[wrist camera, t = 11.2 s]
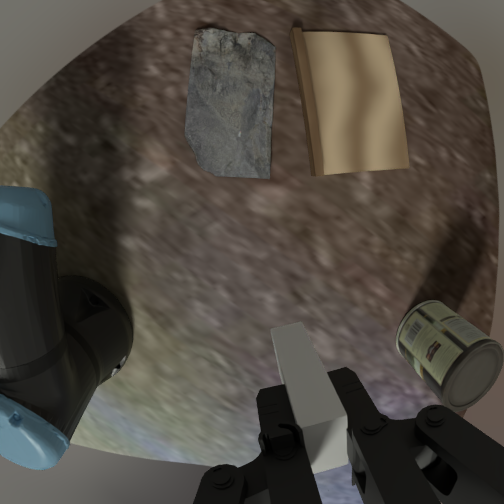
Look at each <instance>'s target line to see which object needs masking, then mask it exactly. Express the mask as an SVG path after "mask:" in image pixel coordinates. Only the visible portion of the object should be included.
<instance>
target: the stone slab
mask: <svg viewBox="0 0 504 504" xmlns="http://www.w3.org/2000/svg"><path fill="white" fill-rule="evenodd" d="M275 50H276V47H274V46H273V45H272V44H271V43H269V42H268V41H266V40H265V39H263V38H262V37H260V36H258V35H257V34H255V33H234V32H227V31H224V30H218V29H216V28H207V29H200V30H195V35H194V44H193V51H192V59H191V68H190V77H189V86H188V97H187V108H186V121H185V138H186V140H187V142H188V143H189V145H190V147H191V148H192V150H193V152H194V153H195V156H196V160H197V162H198V165H199V166H200V167H201V168H202V169H203V170H204V171H205V170H206V171H208V172H211V173H213V174H214V175H215V176H228V177H248V178H264V179H270V160H271V126H272V117H273V94H274V78H275Z"/></svg>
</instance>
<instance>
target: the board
mask: <svg viewBox="0 0 504 504" xmlns="http://www.w3.org/2000/svg"><path fill="white" fill-rule="evenodd" d="M290 39H291V44H292V50H293V55H294V61H295V66H296V72H297V78H298V84H299V90H300V96H301V103H302V109H303V116H304V123H305V130H306V137H307V144H308V152H309V160H310V168H311V176H324V175H328V174H338V173H349V172H361V171H373V170H387V169H402V168H409V159H408V150H407V141H406V133H405V125H404V118H403V112H402V105H401V99H400V93H399V88H398V82H397V77H396V72H395V67H394V63H393V58H392V54H391V49H390V45H389V41H388V37H387V36H384V35H374V34H362V33H345V32H302V30H301V28H292V30H291V32H290Z"/></svg>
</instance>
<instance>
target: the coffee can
mask: <svg viewBox="0 0 504 504" xmlns="http://www.w3.org/2000/svg"><path fill="white" fill-rule="evenodd" d="M396 346H397V349H398V351H399V353H400V354H401V355H402V356H403V357H404V358H405V359H406V360H407V361H408V363H409V364H410V365H411V366H412V367H413V368H414V370H415V371H416V372H417V373H418V374H419V375H420V377H421V378H422V379H423V380H424V381H425V382H426V384H427V385H428V386H429V387H430V388H431V390H432V391H433V392H434V393H435V394H436V396H437V397H438V398H439V399H440V400H441V402H442V404H443V406H445V407H447V408H449V409H451V410H452V411H453V412H458V411H462V410H465V409H467V408H469V407H471V406H472V405H474V404H475V403H477V402H478V401H479V400H480V399H481V398H482V397H483V396H484V395H485V394H486V393H487V392H488V391H489V390H490V388H491V387H492V386H493V384H494V383H495V381H496V379H497V378H498V375H499V373H500V371H501V369H502V366H503V361H504V351H503V348H502V346H501V345H500V344H499V343H498V342H496V341H495V340H492V339H491V338H490V337H488V336H487V335H486V334H484V333H483V332H481V331H480V330H479V329H477V328H476V327H475V326H473V325H472V324H470V323H469V322H468V321H466V320H465V319H463V318H462V317H461V316H459V315H458V314H457V313H455V312H454V311H452V310H451V309H450V308H448V307H447V306H445V304H443V303H442V302H440V301H437V300H428V301H425V302H422V303H420V304H418V305H417V306H415V307H414V308H412V309H411V310H410V311H409V312H408V313H407V315H406V316H405V317H404V319H403V320H402V322H401V324H400V326H399V328H398V331H397V335H396Z"/></svg>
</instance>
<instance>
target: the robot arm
mask: <svg viewBox="0 0 504 504" xmlns="http://www.w3.org/2000/svg"><path fill="white" fill-rule="evenodd" d="M56 247H57V240H56V239H55V237H54V229H53V216H52V205H51V202H50V200H49V198H48V196H47V195H46V194H45V193H44V192H43V191H41V190H39V189H36V188H29V187H16V186H0V455H2V456H3V457H5V458H7V459H8V460H10V461H12V462H14V463H16V464H19V465H21V466H24V467H27V468H30V469H36V470H45V469H48V468H50V467H54V466H55V465H56V464H57V463H58V461H59V460H60V458H61V457H62V455H63V454H64V452H65V451H66V449H68V448H69V445H70V444H69V443H70V440H71V438H72V436H73V434H74V432H75V429H76V427H77V425H78V423H79V421H80V419H81V417H82V415H83V413H84V411H85V409H86V407H87V405H88V403H89V401H90V400H91V398H92V396H93V394H94V392H95V390H96V388H97V387H98V386H99V385H100V384H102V383H103V382H105V381H106V380H108V379H109V378H111V377H112V376H114V375H115V374H116V373H118V372H119V371H120V369H121V368H122V367H123V366H124V364H125V362H126V360H127V358H128V356H129V354H130V352H131V348H132V342H133V334H132V328H131V324H130V321H129V318H128V316H127V314H126V312H125V310H124V308H123V307H122V305H121V304H120V302H119V301H118V300H117V299H116V298H115V296H114V295H113V294H112V293H111V292H109V291H108V290H107V289H106V288H105V287H103V286H102V285H100V284H99V283H97V282H95V281H93V280H90V279H88V278H85V277H81V276H64V277H60V278H58V274H57V262H56ZM270 330H271V335H272V340H273V344H274V349H275V354H276V359H277V364H278V369H279V373H280V377H281V381H282V385H278V386H273V387H269V388H264V389H260V391H259V393H258V395H257V398H256V401H257V408H258V415H259V421H260V428H261V432H260V434H259V438H258V441H259V445H260V448H261V453H260V454H259V456H258V457H257V458H256V459H255V460H253V461H252V462H250V463H248V464H246V465H243V466H241V467H239V468H237V467H236V466H234V465H229V464H223V465H217V466H215V467H212V468H211V469H209V470H208V471H207V472H206V473H205V474H204V476H203V477H202V479H201V482H200V485H199V488H198V491H197V494H196V497H195V500H194V502H193V504H322V501H321V498H320V494H319V491H318V488H317V484H316V481H315V478H314V473H318V472H322V471H326V470H329V469H333V468H336V467H340V466H343V465H346V464H348V458H349V460H350V462H351V465H352V486H353V485H355V483H356V485H357V488H358V490H359V493H360V495H361V498H362V500H363V503H364V504H441V503H440V502H442V503H443V504H504V447H503V446H502V445H500V444H499V443H497V442H496V441H494V440H493V439H492V438H490V437H489V436H487V435H486V434H484V433H483V432H482V431H480V430H479V429H477V428H476V427H474V426H473V425H472V424H470V423H469V422H467V421H466V420H465V419H463V418H462V417H460V416H459V415H458V414H456V413H455V412H453V411H452V410H451V409H449V408H447V407H445V406H443V405H430V406H427V407H425V408H423V409H422V410H421V411H420V412H419V413H418V414H417V417H416V418H412V419H404V420H393V419H389V418H388V417H387V416H386V415H383V414H381V413H380V412H379V411H378V410H377V408H376V406H375V405H374V403H373V401H372V400H371V398H370V396H369V395H368V393H367V391H366V390H365V389H364V386H363V385H362V383H361V382H360V380H359V378H358V376H357V375H356V373H355V372H353V371H352V370H350V369H349V368H347V367H344V368H341V369H337V370H334V371H330V372H326V370H325V368H324V366H323V364H322V362H321V360H320V358H319V356H318V354H317V352H316V350H315V348H314V346H313V344H312V341H311V339H310V337H309V335H308V333H307V331H306V329H305V327H304V325H303V323H302V321H301V322H297V323H293V324H289V325H285V326H280V327H276V328H272V329H270Z"/></svg>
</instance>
